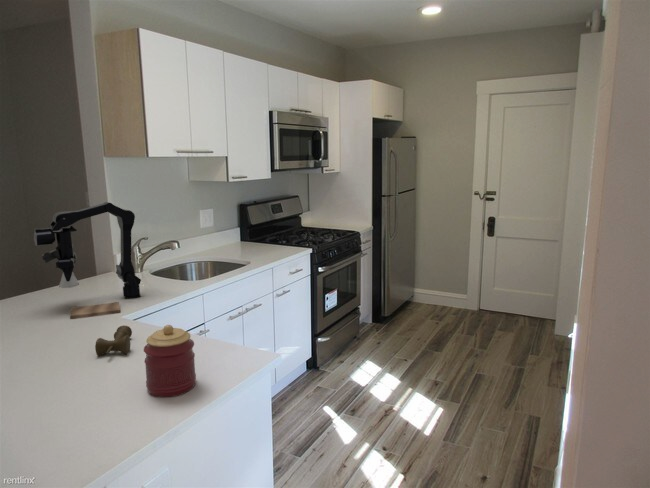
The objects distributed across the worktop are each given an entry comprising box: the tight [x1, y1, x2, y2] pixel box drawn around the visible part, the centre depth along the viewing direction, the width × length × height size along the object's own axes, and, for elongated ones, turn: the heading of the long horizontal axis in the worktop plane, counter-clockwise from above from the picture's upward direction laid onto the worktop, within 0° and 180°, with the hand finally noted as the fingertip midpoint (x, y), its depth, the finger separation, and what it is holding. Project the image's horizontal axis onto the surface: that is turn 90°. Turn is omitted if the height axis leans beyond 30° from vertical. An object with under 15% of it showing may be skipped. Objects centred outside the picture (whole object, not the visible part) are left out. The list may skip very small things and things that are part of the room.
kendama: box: [94, 325, 133, 357], centre depth 152 cm, size 6×10×20 cm
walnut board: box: [69, 301, 121, 320], centre depth 191 cm, size 18×12×1 cm, turn 116°
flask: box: [58, 272, 80, 289], centre depth 194 cm, size 7×7×10 cm
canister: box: [143, 324, 197, 398], centre depth 126 cm, size 13×13×18 cm
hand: (68, 279), depth 194 cm, fingers closed on flask, 5 cm apart
